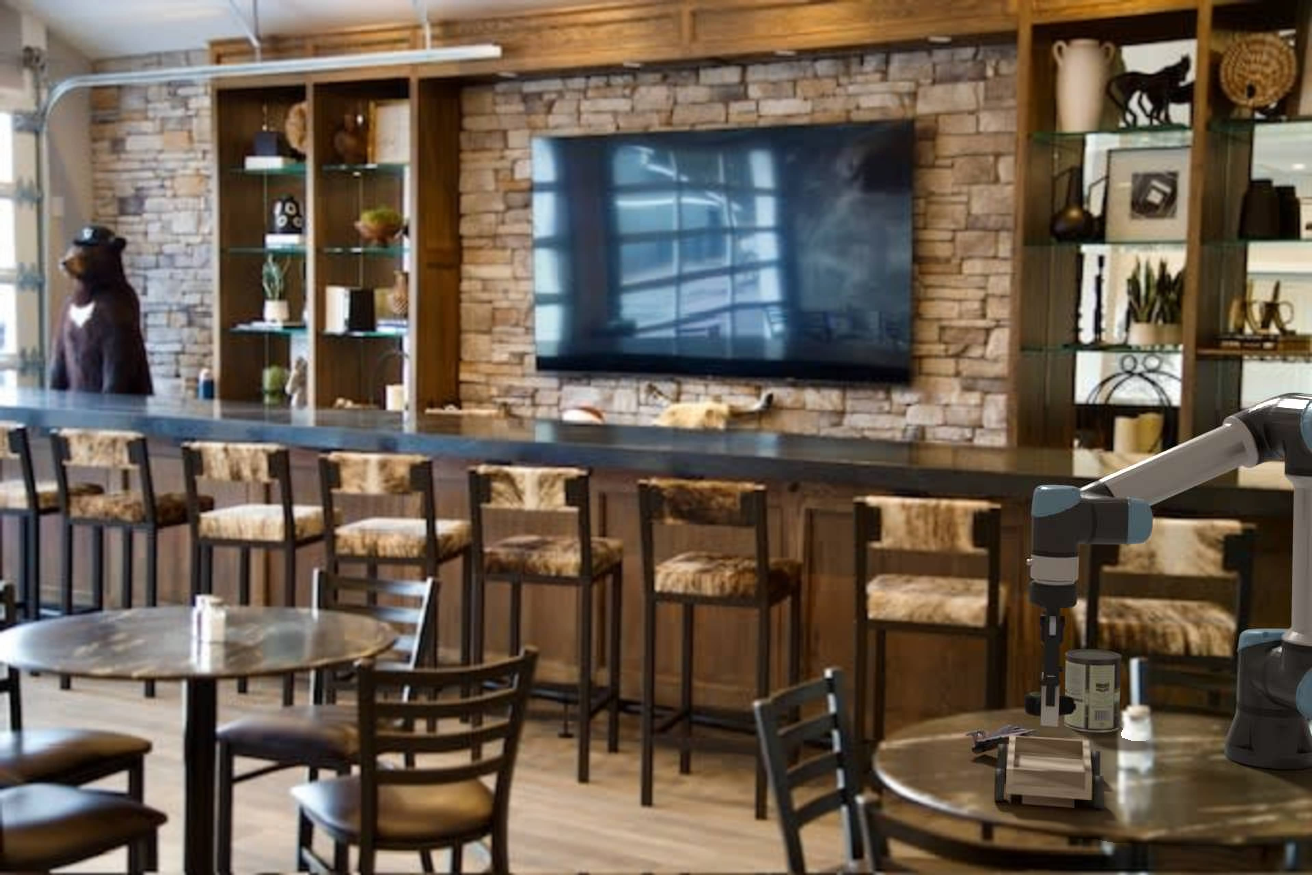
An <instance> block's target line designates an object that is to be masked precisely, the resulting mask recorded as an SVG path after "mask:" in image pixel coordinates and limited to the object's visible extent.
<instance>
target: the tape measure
mask: <svg viewBox="0 0 1312 875" xmlns="http://www.w3.org/2000/svg"><path fill="white" fill-rule="evenodd" d="M1041 700H1042V691H1034V692H1028V693H1026V694H1025V697H1024V711H1025V713H1026V714H1028V715H1030V716H1034V717H1041ZM1074 710H1076V704H1074V700H1073V698H1072V697H1068V696H1065V694H1062V693H1059V715H1058V717H1059V716H1065V715H1069V714H1072V713H1073V712H1074Z"/></svg>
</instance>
